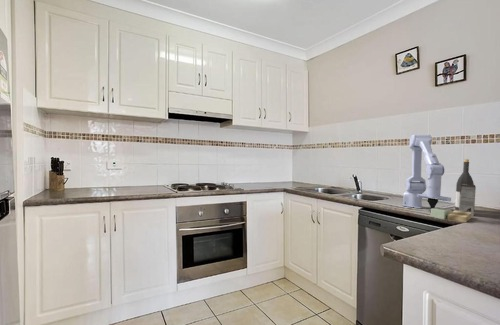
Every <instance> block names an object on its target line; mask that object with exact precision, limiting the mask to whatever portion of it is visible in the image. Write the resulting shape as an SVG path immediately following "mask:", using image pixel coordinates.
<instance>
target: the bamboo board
mask: <svg viewBox="0 0 500 325" xmlns="http://www.w3.org/2000/svg"><path fill="white" fill-rule="evenodd" d="M472 217H473V216H472V213H470V212H463V211H459V210H457V209H454V210H453V211H451V213H449V214H448V218H447V219H446V220H447V221H448V220H449V221H454V222H455V221H456V222H462V223H467V222H469V220H471V219H472Z"/></svg>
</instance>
